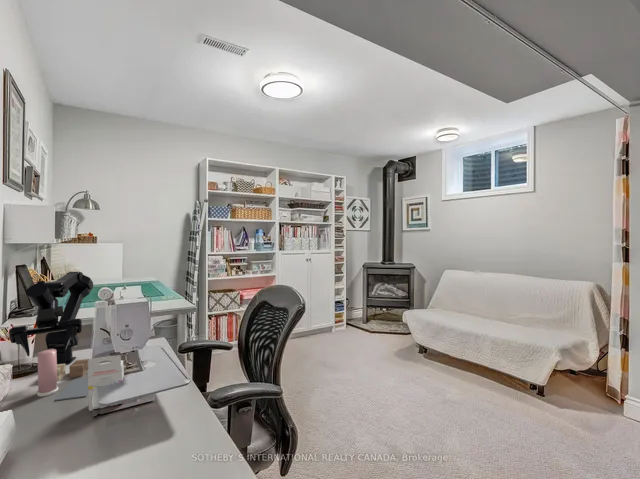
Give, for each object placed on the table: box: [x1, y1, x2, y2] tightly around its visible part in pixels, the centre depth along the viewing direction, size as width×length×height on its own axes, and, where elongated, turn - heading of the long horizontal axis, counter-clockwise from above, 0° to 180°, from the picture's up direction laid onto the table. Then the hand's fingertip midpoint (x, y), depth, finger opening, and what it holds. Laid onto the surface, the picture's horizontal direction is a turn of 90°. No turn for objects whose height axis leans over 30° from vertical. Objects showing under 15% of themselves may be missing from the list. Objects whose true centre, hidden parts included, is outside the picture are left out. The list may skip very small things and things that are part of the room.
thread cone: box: [36, 348, 59, 398], centre depth 104 cm, size 5×5×13 cm
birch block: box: [57, 364, 66, 381], centre depth 115 cm, size 5×5×4 cm
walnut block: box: [69, 358, 90, 378], centre depth 119 cm, size 6×4×4 cm, turn 17°
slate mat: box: [54, 377, 88, 402], centre depth 107 cm, size 14×8×1 cm, turn 18°
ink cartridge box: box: [87, 354, 125, 412], centre depth 97 cm, size 9×5×15 cm, turn 115°
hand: (47, 352), depth 108 cm, fingers open, 9 cm apart
